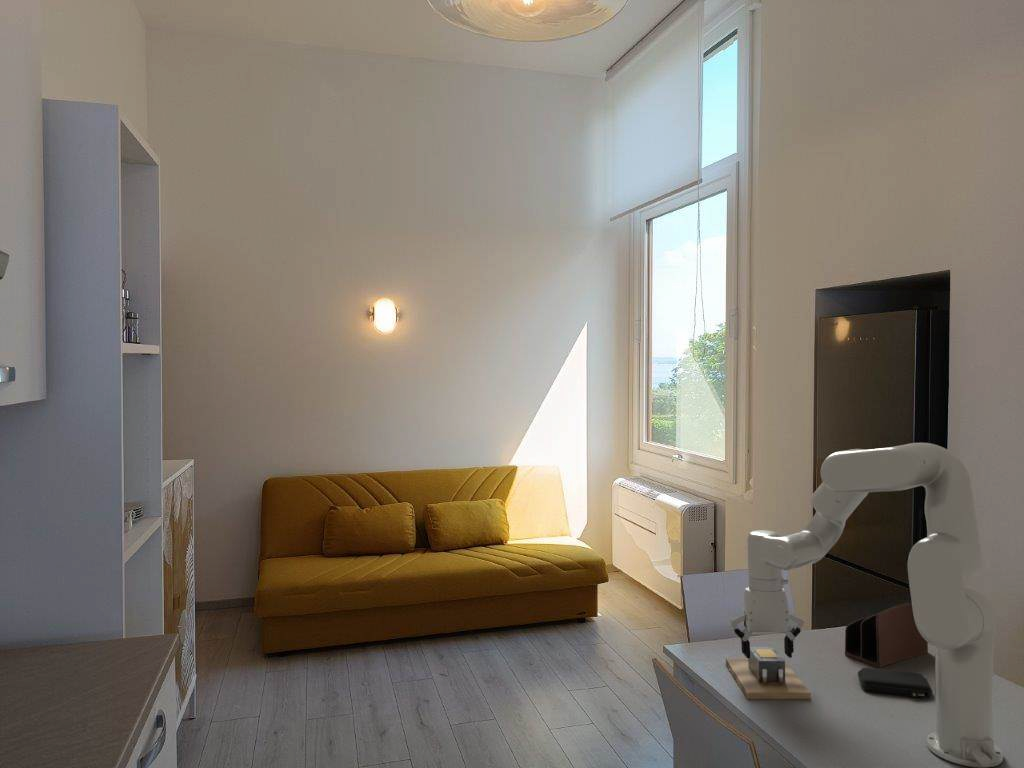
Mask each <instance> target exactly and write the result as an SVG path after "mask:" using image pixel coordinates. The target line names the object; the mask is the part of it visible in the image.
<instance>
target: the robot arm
mask: <svg viewBox="0 0 1024 768" xmlns="http://www.w3.org/2000/svg"><path fill="white" fill-rule="evenodd" d="M820 478H821V481H822V482H821V484H820V485H819V486H818V487H817V489H816V490H815V491H814V492H813V493H812V495H811V497H810V503H811V505H812V507H813V508H814V510H815V514H814V515H813V516H812V518H811V519H810V521H809V522H808V523H807V525H806V526H805V527H804V528H803V529H802V530H801V531H799V532H796V533H791V534H788V535H784V536H780V534H779V533H778V532H776V531H773V530H767V529H766V530H765V529H764V530H763V529H761V530H760V529H759V530H757V529H756V530H752V531H750V532H749V533H748V535H747V541H746V543H747V568H748V572H747V573H748V586H747V587H745V589H744V593H743V604H742V613H740V614H739V615H737V616H735V617H734V618H731V619H730V620H729V621H728V623H729V625H730V627H731V628H732V631H733V632H734V634H736V635H737V637H739V638H740V641H741V653H742V654H743V655H744V656H745V658H750V647H751V642H750V641H749V638H750V637H751V636H752V635H753V634H785V636H784V639H783V643H784V646H783V647H784V648H783V649H784V654H785V655H786V656H787V657H788V658H792V657H793V653H794V651H795V650H794V641H795V639H796V637H798V635H799V634H800V633H801V630H802V629H803V627H804V624H805V620H804V619H802V618H801V617H799V616H796V615H794V614H792V613H790V608H789V603H788V597H787V594H786V592H787V591H786V590H785V588H784V586H785V585H789V580H788V578H785V577H783V574H782V573H783V571H794V570H797V569H801V568H803V567H806V566H810V565H813V564H816V563H817V562H819V561H821V559H823V558H824V557H825V556H826V555H827V554H828V552H830V550H831V549H832V548H833V547H834V546H835V545H836V543H837V542H838V541H839V539H840V538H841V536H842V534H843V532H844V528H845V526H846V521H847V520H848V518H849V517H851V515H852V514H853V512H854V511H855V510H856V509H857V507H858V506H859V505H860V504H861V503H862V501H863V500H864V499H865V498H867V496H868V495H869V493H879V492H897V491H904V490H909V489H913V488H917V487H921V486H922V487H924V490H925V500H924V515H925V521H926V531H927V532H926V533H927V534H926V537H924V538H922V539H920V540H918V541H917V542H916V543H915V544H914V545H913V546H912V547H911V549H910V552H909V554H908V557H907V558H908V559H907V575H908V576H907V577H908V582H909V583H908V585H909V591H910V598H911V603H912V607H913V614H914V620H915V623H916V626H917V629H918V631H919V632H920V634H921V635H922V637H923V638H924V639H925V640H926V641H927V642H928V644H929V645H931V646H932V647H935V654H934V655H935V657H934V659H935V661H934V662H935V663H934V668H935V669H934V671H935V672H934V676H935V677H934V678H935V679H934V681H935V683H934V685H935V687H934V688H935V690H934V692H935V694H934V699H935V700H934V704H935V709H934V710H935V713H934V714H935V730H934V731H932V732H931V733H929V734H928V735H927V736H926V746H927V747H928V749H929V750H930V751H931V752H932V753H934V754H935V755H936V756H938V757H939V758H941V759H944V760H945V761H948V762H950V763H953V764H956V765H960V766H964V767H971V768H994V767H997V766H999V765H1000V764H1002V762H1003V761H1004V752H1003V751H1002V749H1001V748H1000V747H999V746H998V745H997V744H996V743H995V740H994V653H995V649H994V648H995V643H996V642H995V641H996V636H997V635H996V634H997V625H998V623H997V622H998V616H997V610H996V607H995V604H994V603H993V601H992V600H991V598H990V597H989V596H988V594H985V593H984V592H983V591H982V590H980V589H978V588H976V587H972V586H971V585H970V586H969V585H965V582H966V581H967V580H970V579H972V578H974V577H975V576H977V574H978V573H979V572H980V571H981V569H982V567H983V554H982V553H983V552H982V547H981V541H980V534H979V528H978V526H979V525H978V521H977V516H976V510H975V502H974V495H973V494H974V493H973V486H972V481H971V478H970V474H969V471H968V470H967V467H966V466H965V464H964V463H963V461H962V460H961V459H960V458H959V457H958V456H957V455H956V454H955V453H953V452H952V451H951V450H950V449H947V448H945V447H943V446H940V445H939V444H934V443H930V442H912V443H907V444H901V445H896V446H890V447H881V448H874V449H873V448H871V449H863V448H853V449H852V448H851V449H847V450H840V451H835V452H833V453H831V454H829V455H828V456H827V457H826V458H825V459H824V460H823V462H822V464H821V468H820ZM791 621H792V622H794V623H795V625H794V626H793V627H792V628H791ZM741 623H742V625H743V626H744V628H743V629H742V630H740V628H739V627H738V625H739V624H741ZM790 629H791V630H790Z"/></svg>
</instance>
